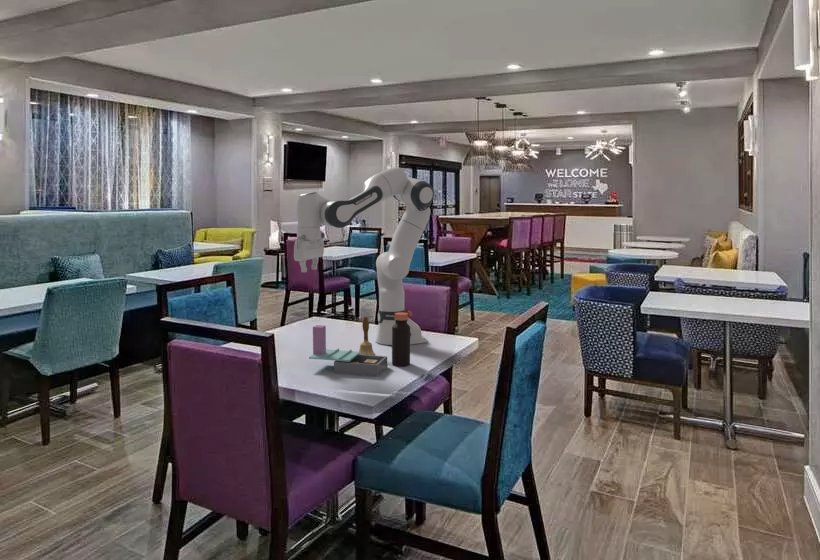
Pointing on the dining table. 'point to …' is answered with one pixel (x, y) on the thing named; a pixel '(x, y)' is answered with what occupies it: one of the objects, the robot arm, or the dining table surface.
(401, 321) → the bottle
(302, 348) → the dining table surface
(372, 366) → the tray
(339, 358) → the lid
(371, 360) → the part
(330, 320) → the dining table surface
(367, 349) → the hand bell
